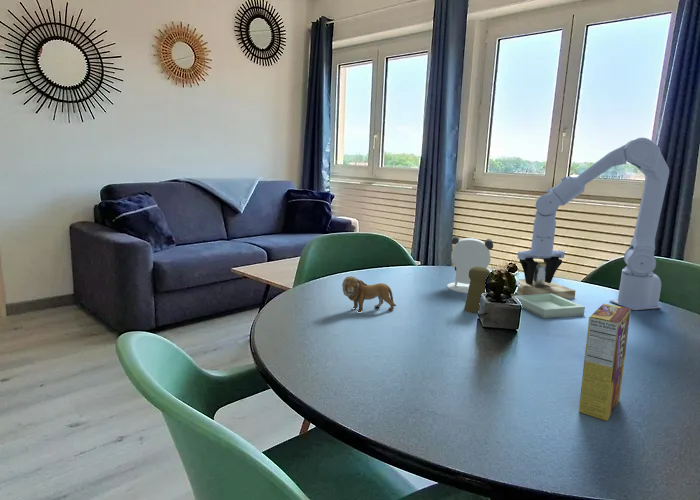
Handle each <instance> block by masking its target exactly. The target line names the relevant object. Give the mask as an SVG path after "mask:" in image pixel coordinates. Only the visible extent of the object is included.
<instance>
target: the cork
mask: <svg viewBox="0 0 700 500" xmlns="http://www.w3.org/2000/svg"><path fill="white" fill-rule="evenodd" d="M489 274H490V275H491V271H490V270H489V268H487V267H486V268H483V267H473V268H471V269H470V271H469V278H470V285H469V289H468V293H466V299H465V303H464V307H463V310H464V311H465V312H467V313H470V314H474V315H479V314H478V311H479V303H480V296H481V294H482V293H485V281H486V278H487V276H488V275H489Z"/></svg>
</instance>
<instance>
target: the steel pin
mask: <svg viewBox="0 0 700 500" xmlns="http://www.w3.org/2000/svg"><path fill="white" fill-rule="evenodd" d="M534 261H535V262H538V264H537V266H536V269H535V272H534V278H533V283H532V284H531V286H533V287H535V288H544V285H545V276H546V268H547V263H546V262H544V261H542V260H534Z"/></svg>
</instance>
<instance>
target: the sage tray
mask: <svg viewBox="0 0 700 500" xmlns="http://www.w3.org/2000/svg"><path fill="white" fill-rule="evenodd" d="M515 296H516V297H517V298H518V299H519V301H520V302H521V304H522V307H523V308H522V309H524V310H526V311H527V312H529V313H531V314H534V315H536V316H538V317H540V318H542V319H551V318H552V319H553V318H554V319H555V318H564V317H565V318H566V317H576V316H577V317H579V316H584V315H585V311H586V310H585V309H586V306H584V305H581V304H580V303H576V302H575V301H572V300H569V299H564V298H562V297H559V296H557V295H554V294H552V293H548V294H532V295H518V294H516V295H515Z"/></svg>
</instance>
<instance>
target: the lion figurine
mask: <svg viewBox="0 0 700 500" xmlns="http://www.w3.org/2000/svg"><path fill="white" fill-rule="evenodd" d="M341 284H342V285H341V286H342V292H343V295H344V296H346V297H347V298H348V299H349V300H350V301H351V302H352V301H353V308H355V309H356V308H358V309H356V310H357V311H358V312H361V311H362V312H363V311H364V310H363V306H364V302H365V300H366V301H367V300H369V301H370V300H373V299H376V298H378V304H376V305H374V308H375V307H379V308H381V306H382V305H383V304H384V302H385V303H387V304H388V305H389V306H390V307H388V309H387V310H388V311H389V312H393V311H394V307H397V305H396V303H395V301H394V297H393V291H392V289H391V288H390V286H389V285H388V284H386V283H381V282H380V283H375V284H367V283H365V282H364V281H363V280H361V279H358V278H356V277H355V276H351V275H349V276H346V277H345V278H344V279H343V280H342V283H341ZM357 311H356V312H357Z"/></svg>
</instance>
